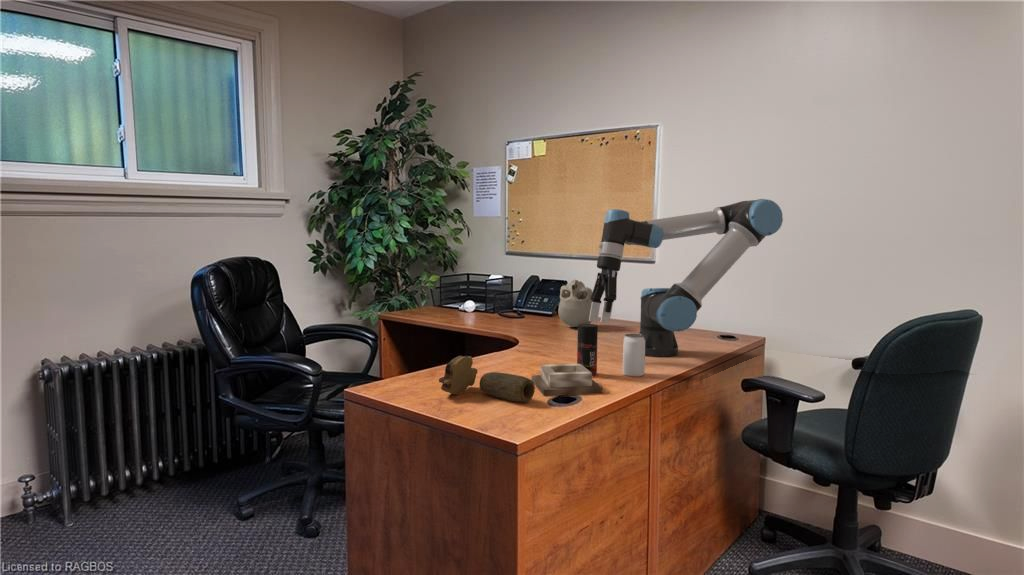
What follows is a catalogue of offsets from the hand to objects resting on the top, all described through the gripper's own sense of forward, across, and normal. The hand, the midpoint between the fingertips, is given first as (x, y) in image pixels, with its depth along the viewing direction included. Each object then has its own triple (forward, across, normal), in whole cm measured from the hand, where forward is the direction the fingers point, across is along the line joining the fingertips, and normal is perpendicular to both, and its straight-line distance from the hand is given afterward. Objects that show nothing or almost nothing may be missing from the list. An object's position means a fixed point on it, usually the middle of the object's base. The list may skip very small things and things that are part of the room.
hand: (598, 322), depth 195 cm
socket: (+20, +23, -13) cm, 33 cm away
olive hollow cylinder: (+25, +33, -30) cm, 51 cm away
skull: (+2, -73, +12) cm, 74 cm away
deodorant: (+17, +10, -4) cm, 20 cm away
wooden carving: (+26, +26, -42) cm, 56 cm away
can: (+14, +12, +10) cm, 21 cm away
